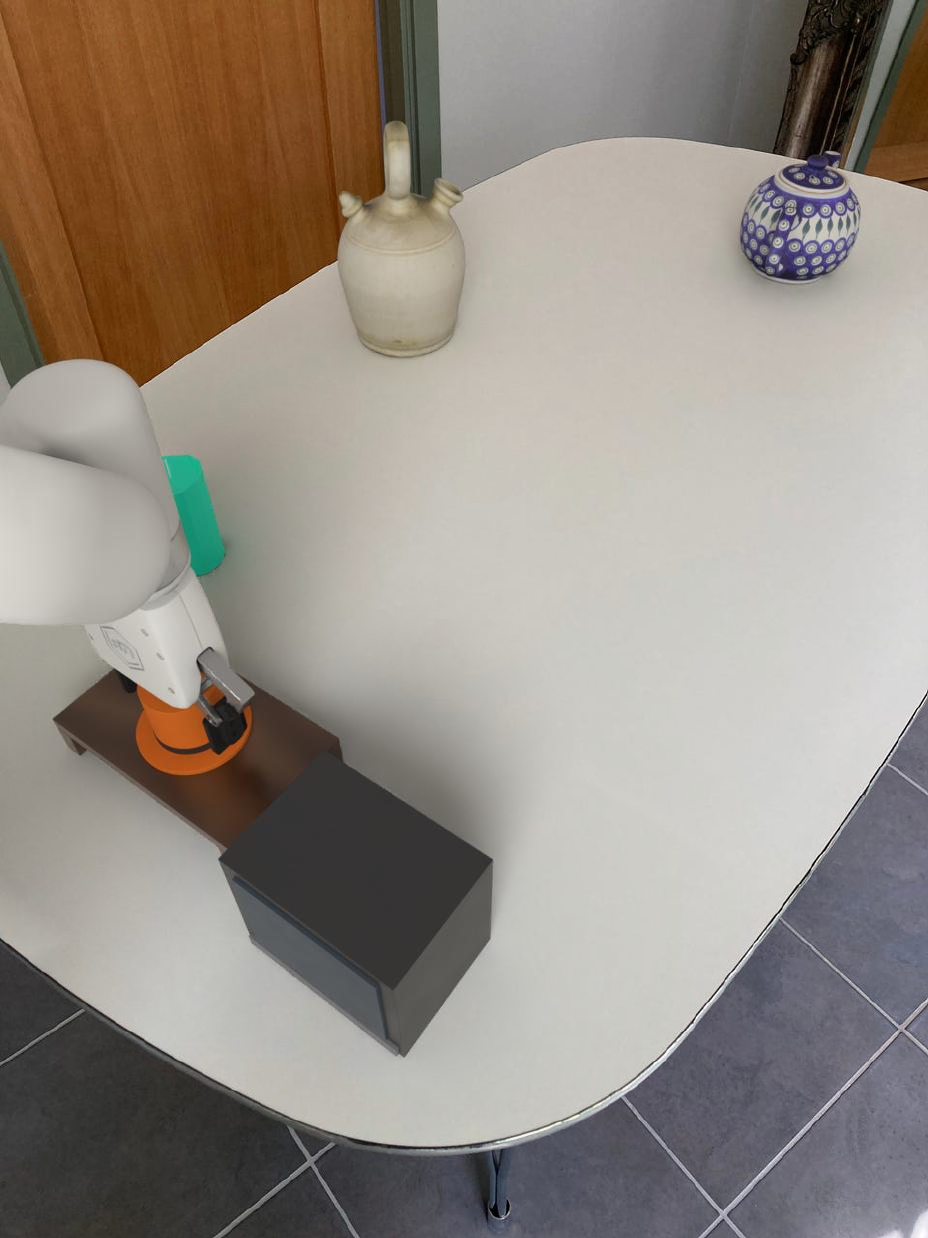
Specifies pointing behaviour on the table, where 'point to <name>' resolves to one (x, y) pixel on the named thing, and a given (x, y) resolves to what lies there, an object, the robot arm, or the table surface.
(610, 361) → the table surface
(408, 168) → the jug
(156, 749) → the hat
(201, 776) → the stand
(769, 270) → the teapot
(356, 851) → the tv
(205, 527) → the candle
